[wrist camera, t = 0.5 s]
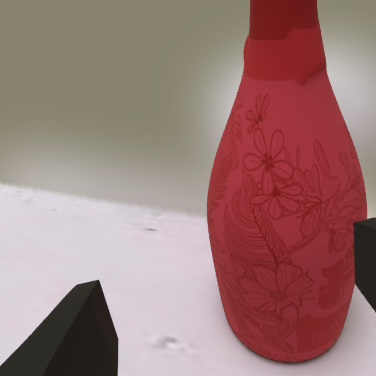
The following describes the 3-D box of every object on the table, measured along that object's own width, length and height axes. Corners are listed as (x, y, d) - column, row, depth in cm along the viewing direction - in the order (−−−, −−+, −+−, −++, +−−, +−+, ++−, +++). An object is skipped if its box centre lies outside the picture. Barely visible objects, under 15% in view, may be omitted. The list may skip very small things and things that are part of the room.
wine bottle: (297, 402, 22) (361, -475, 5) (199, 312, 29) (77, -193, 11) (369, 307, 27) (538, -322, 9) (270, 248, 33) (260, -183, 16)
